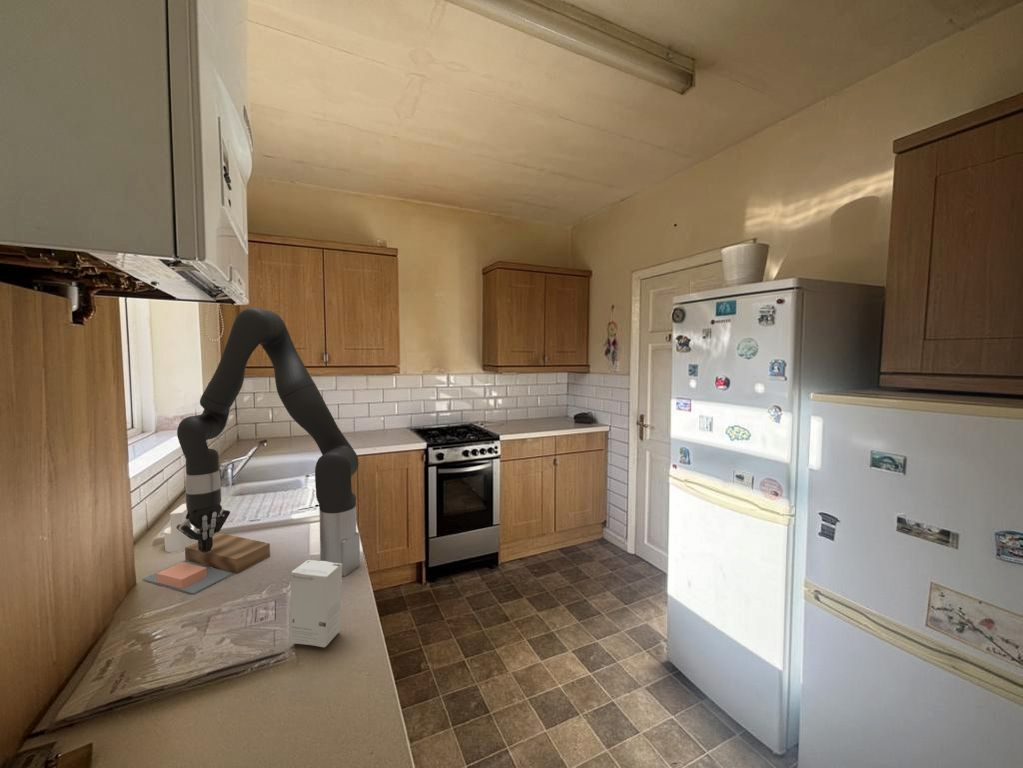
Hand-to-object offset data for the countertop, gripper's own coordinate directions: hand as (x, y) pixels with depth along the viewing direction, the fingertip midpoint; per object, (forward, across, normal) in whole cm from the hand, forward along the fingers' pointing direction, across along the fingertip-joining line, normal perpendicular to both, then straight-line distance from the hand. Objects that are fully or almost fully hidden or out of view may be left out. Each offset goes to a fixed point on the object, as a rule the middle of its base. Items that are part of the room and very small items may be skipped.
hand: (205, 551), depth 110 cm
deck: (+5, +6, 0) cm, 8 cm away
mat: (+5, -4, 0) cm, 7 cm away
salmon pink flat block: (+2, -6, 0) cm, 7 cm away
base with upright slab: (+5, +7, +20) cm, 22 cm away
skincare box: (+5, -11, -49) cm, 50 cm away
